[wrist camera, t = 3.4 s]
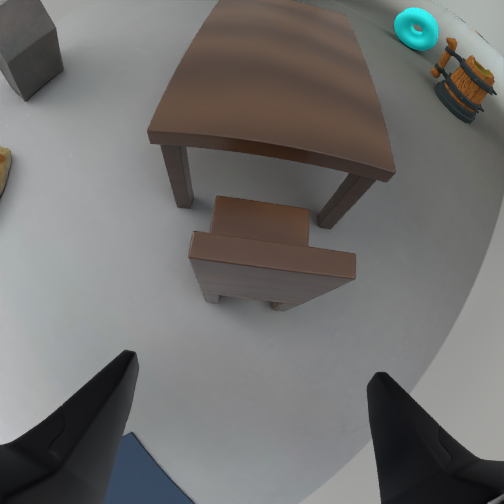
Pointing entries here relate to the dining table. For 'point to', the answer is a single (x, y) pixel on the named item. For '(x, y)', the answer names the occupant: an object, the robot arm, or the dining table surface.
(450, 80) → the mug
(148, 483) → the mat
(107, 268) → the dining table surface
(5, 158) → the pastry
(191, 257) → the chair
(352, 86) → the side table
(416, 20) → the donuts
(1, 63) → the grey hexagonal prism
